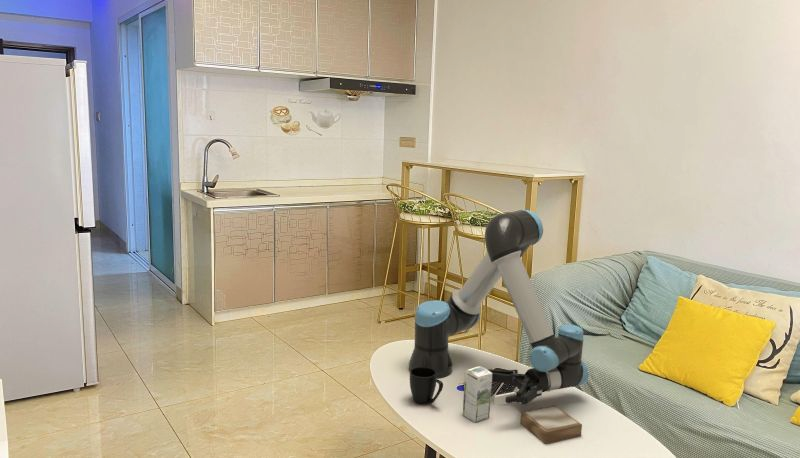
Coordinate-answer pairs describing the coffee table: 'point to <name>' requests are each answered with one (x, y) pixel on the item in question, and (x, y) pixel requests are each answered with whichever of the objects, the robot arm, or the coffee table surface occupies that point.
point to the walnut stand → (550, 424)
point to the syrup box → (477, 393)
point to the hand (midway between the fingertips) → (482, 390)
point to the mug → (424, 385)
